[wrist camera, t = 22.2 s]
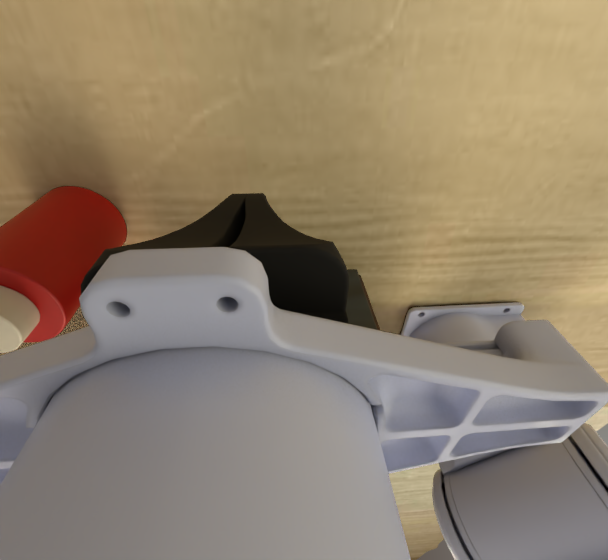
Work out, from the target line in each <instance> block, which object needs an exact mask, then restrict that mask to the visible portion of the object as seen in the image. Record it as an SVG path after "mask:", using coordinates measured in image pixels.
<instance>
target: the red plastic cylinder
mask: <svg viewBox="0 0 608 560" xmlns="http://www.w3.org/2000/svg"><path fill="white" fill-rule="evenodd" d="M126 235H127V229H126V224H125V221H124V219H123V217H122V215H121V214H120V212H119V211H118V210H117V208H116V207H115V206H114V205H113V204H112V203H111V202H109V201H108V200H107V199H106V198H104V197H103V196H101V195H99V194H97V193H95V192H93V191H91V190H88V189H85V188H81V187H75V186H64V187H58V188H55V189H53V190H51V191H50V192H48V193H47V194H45V195H44V196H43V197H41V198H40V199H38V200H37V201H36V202H34V203H33V204H32V205H30V206H29V207H27V208H26V209H25V210H23V211H22V212H21V213H19V214H18V215H16V216H15V217H14V218H12V219H11V220H10V221H8V222H7V223H5V224H4V225H3V226H1V227H0V353H6V352H10V351H13V350H15V349H17V348H18V347H20V346H21V344H22V343H23V342H40V341H45V340H48V339H51V338H53V337H55V336H57V335H58V334H60V333H61V332H62V331H63V329H64V328H65V327H66V325H67V324H68V322H69V321H70V319H71V318H72V317H73V315H74V314H75V312H76V311H77V309H78V308H79V307H80V301H79V297H80V296H81V283H82V281H83V279H84V277H85V275H86V274H87V272H88V271H89V270H90V268H91V267H92V266H93V265H94V263H95V262H96V261H97V259H98V258H99V257H100V255H101V254H102V253H103V252H104V250H105V249H110V248H116V247H121V246H122V245H123V243H124V242H125V239H126Z"/></svg>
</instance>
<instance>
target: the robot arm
mask: <svg viewBox="0 0 608 560" xmlns="http://www.w3.org/2000/svg"><path fill="white" fill-rule="evenodd" d="M348 290H349V275H348V272H347V269H346V266H345V264H344V261H343V259H342V257H341V255H340V254H339V252H338V250H337V248H336V247H335V245H334V243H333V242H330V241H325V240H320V239H316V238H313V237H310V236H307V235H305V234H302V233H300V232H298V231H296V230H295V229H293V228H291V227H290V226H288V225H287V224H286V223H284V222H283V221H282V220H281V219H280V218H279V217H278V216H277V214H276V213H275V212H274V211H273V209H272V208H271V207H270V205H269V203H268V202H267V199H266V196H265V195H264V194H263V193H255V194H232V195H230V196H229V197H228V198H226V199H225V200H224V201H223V202H222V203H220V204H219V205H218V206H217V207H215V208H214V209H213V210H212V211H210V212H209V213H207V214H206V215H204V216H203V217H202V218H200V219H199V220H197V221H195V222H194V223H192V224H190V225H188V226H186V227H184V228H182V229H180V230H177V231H175V232H172V233H170V234H167V235H165V236H162V237H159V238H156V239H153V240H149V241H145V242H141V243H137V244H133V245H127V246H121V247H116V248H110V249H105V250H104V252H103V253H102V254H101V255H100V257H99V258H98V259H97V261H96V262H95V263H94V265H93V266H92V267H91V268H90V270H89V271H88V272H87V274H86V275H85V277H84V279H83V281H82V283H81V296H80V297H79V301H80V306H81V310H82V315H83V317H84V318H85V320H86V321H87V323H88V325H89V326H87V327H84V328H81V329H78V330H75V331H72V332H69V333H66V334H63V335H60V336H57V337H54V338H51V339H48V340H45V341H42V342H39V343H36V344H33V345H31V346H28V347H25V348H22V349H19V350H16V351H13V352H10V353H7V354H4V355H1V356H0V560H411V559H410V555H409V551H408V547H407V543H406V540H405V536H404V532H403V528H402V524H401V520H400V516H399V513H398V509H397V505H396V501H395V497H394V493H393V490H392V486H391V482H390V478H389V473H394V472H399V471H403V470H408V469H412V468H417V467H422V466H426V465H431V464H436V463H439V465H440V468H441V469H439V470H438V471H437V472H436V473H435V475H434V478H433V489H432V498H433V505H434V510H435V514H436V517H437V521H438V524H439V526H440V529H441V532H442V534H443V537H444V539H445V541H446V543H447V545H448V547H449V549H450V551H451V553H452V555H453V557H454V559H455V560H608V446H607V444H606V443H605V442H604V441H603V439H602V438H601V437H600V436H599V435H598V434H597V432H596V431H595V430H594V429H593V428H592V426H591V425H589V424H586V423H585V422H586V421H587V420H588V419H589V418H591V417H592V416H593V415H594V414H595V413H596V412H598V411H599V410H600V409H601V408H602V407H603V406H604V405H606V404H607V403H608V383H607V382H606V381H605V380H604V379H603V378H602V377H601V376H600V375H599V374H598V373H597V372H596V371H595V370H594V368H593V367H592V366H591V365H590V364H589V363H588V362H587V361H586V360H585V359H584V358H583V357H582V356H581V355H580V354H579V353H578V352H577V351H576V349H575V348H574V347H573V346H572V345H571V344H570V343H569V342H568V341H567V340H566V339H565V338H564V337H563V336H562V335H561V334H560V333H559V331H558V330H557V329H556V328H555V327H554V326H553V325H552V324H551V323H550V322H549V321H548V320H527V321H525V319H524V318H523V317H522V316H521V313H522V311H523V310H524V305H523V304H522V303H519V302H516V303H495V304H474V305H454V306H433V307H414V308H411V309H410V310H409V311H408V312H407V316H406V319H405V322H404V326H403V329H402V332H401V335H398V334H394V333H389V332H384V331H380V330H375V329H370V328H366V327H361V326H356V325H352V324H348V317H347V313H346V305H347V298H348ZM421 312H422V313H421Z"/></svg>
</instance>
